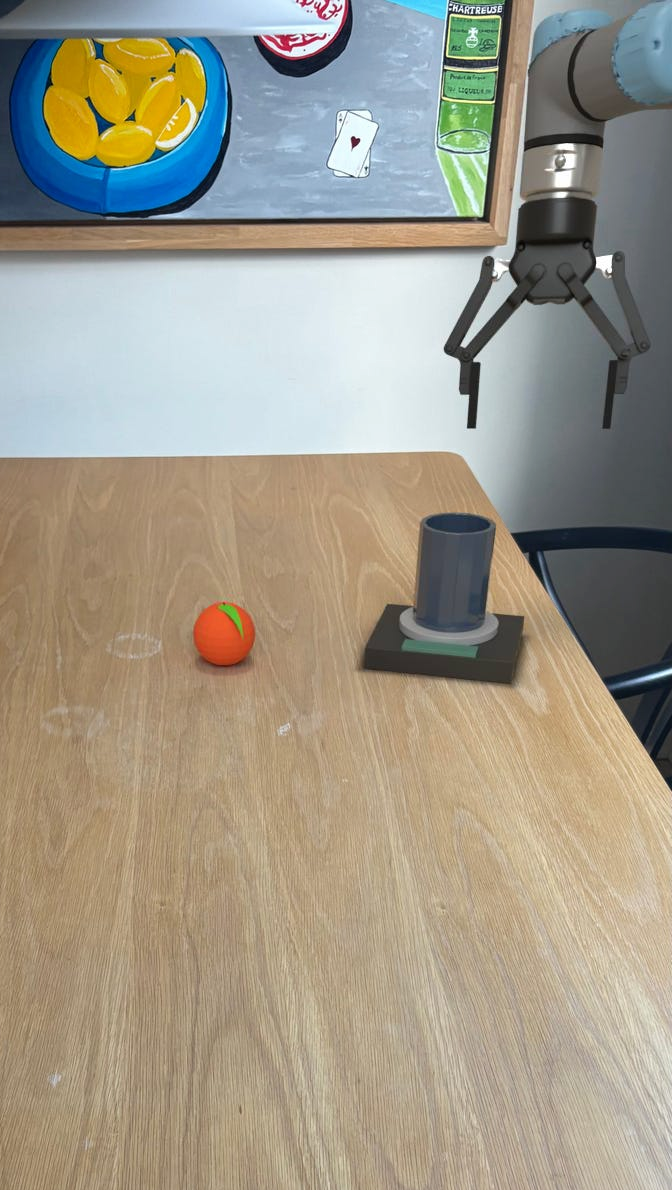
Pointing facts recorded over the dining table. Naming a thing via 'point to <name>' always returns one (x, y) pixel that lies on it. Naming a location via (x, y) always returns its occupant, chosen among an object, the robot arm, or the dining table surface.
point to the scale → (445, 647)
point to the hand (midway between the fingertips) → (537, 429)
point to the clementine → (224, 633)
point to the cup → (453, 571)
